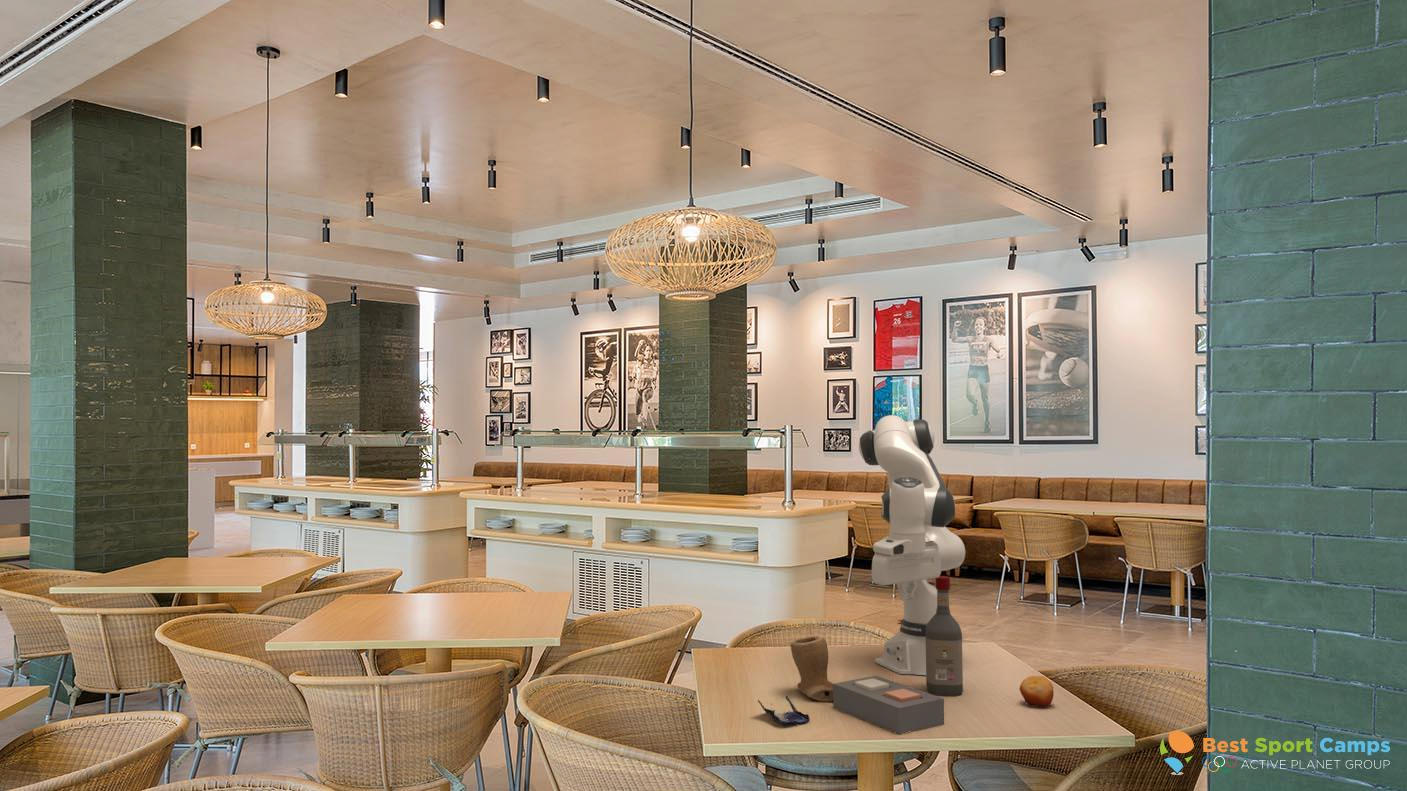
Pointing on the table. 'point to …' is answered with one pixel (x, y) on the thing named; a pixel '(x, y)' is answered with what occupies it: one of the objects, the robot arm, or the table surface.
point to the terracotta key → (902, 695)
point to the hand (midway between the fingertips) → (907, 599)
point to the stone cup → (812, 667)
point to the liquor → (943, 647)
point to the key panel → (889, 706)
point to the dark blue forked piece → (788, 715)
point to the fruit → (1037, 691)
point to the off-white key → (871, 684)
